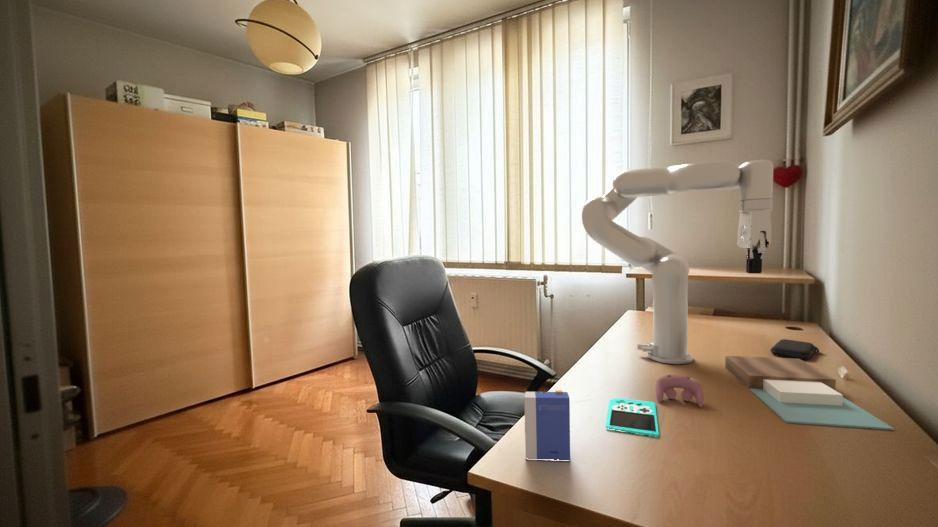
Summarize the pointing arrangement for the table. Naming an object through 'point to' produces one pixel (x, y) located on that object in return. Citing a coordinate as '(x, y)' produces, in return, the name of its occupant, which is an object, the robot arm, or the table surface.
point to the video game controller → (679, 381)
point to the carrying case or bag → (794, 349)
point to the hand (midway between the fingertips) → (753, 272)
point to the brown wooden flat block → (774, 370)
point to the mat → (822, 413)
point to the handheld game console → (632, 416)
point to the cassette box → (802, 392)
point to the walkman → (547, 425)
